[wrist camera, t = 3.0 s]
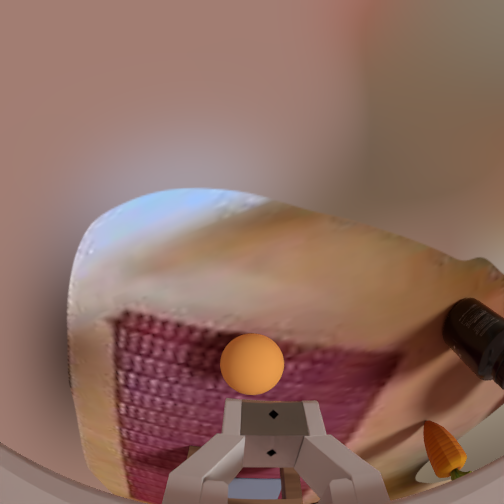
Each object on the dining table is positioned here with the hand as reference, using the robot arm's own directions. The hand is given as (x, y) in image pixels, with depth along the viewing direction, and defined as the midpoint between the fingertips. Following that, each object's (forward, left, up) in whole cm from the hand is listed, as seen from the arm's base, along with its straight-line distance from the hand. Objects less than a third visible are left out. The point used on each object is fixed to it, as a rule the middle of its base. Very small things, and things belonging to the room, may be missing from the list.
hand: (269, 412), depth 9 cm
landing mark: (-44, 0, -19) cm, 47 cm away
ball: (-10, 0, -16) cm, 18 cm away
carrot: (-25, -28, -19) cm, 42 cm away
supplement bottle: (-7, -26, -19) cm, 33 cm away
